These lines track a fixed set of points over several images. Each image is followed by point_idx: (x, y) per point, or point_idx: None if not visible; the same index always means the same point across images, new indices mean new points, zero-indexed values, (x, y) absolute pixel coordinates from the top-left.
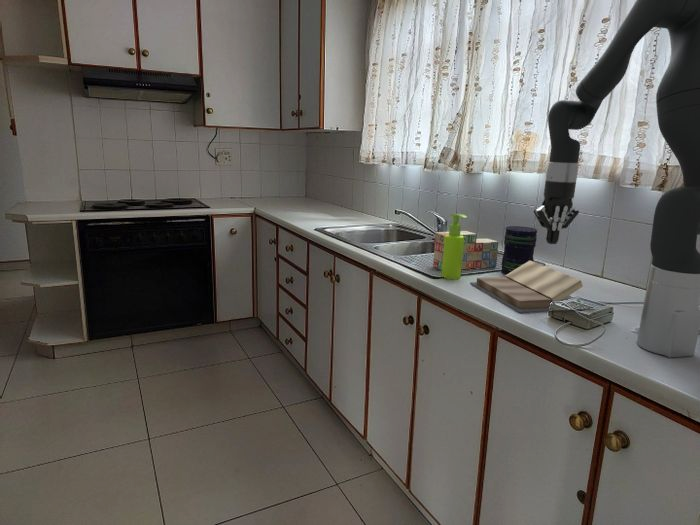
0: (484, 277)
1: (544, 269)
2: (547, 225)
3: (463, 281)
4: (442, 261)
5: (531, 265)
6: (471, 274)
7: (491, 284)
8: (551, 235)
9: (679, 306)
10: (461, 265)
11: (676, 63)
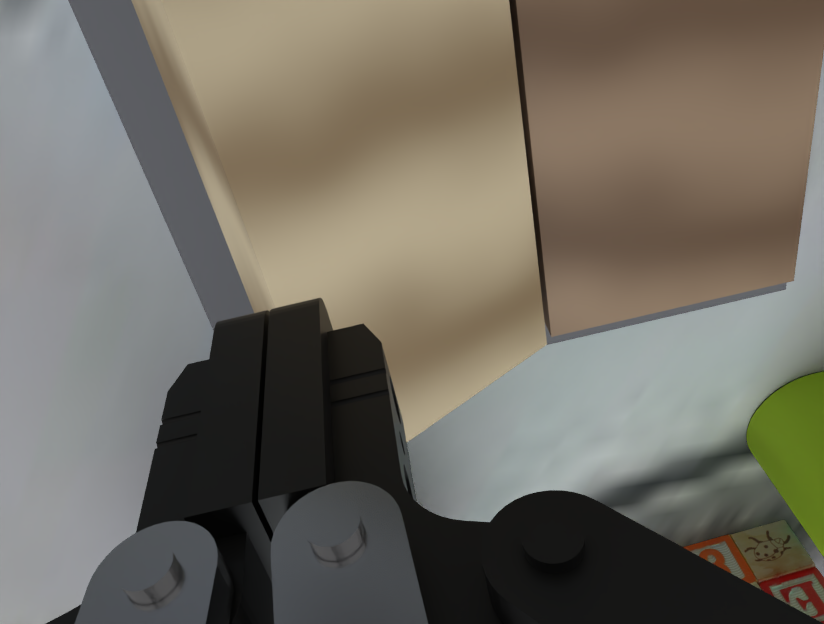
0: (729, 294)
1: (297, 234)
2: (614, 558)
3: (784, 337)
4: (819, 572)
5: None
6: (637, 485)
7: (798, 94)
8: (351, 420)
9: None
10: (807, 471)
11: None
